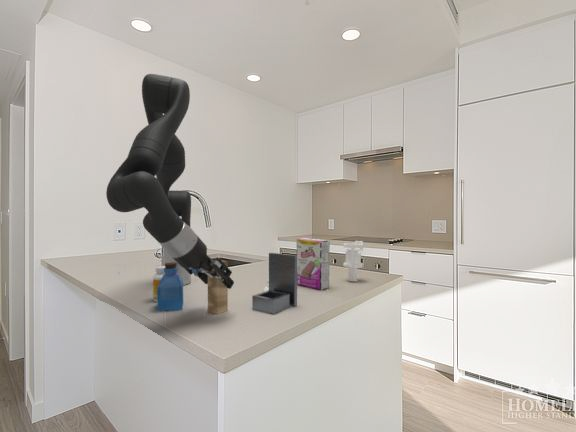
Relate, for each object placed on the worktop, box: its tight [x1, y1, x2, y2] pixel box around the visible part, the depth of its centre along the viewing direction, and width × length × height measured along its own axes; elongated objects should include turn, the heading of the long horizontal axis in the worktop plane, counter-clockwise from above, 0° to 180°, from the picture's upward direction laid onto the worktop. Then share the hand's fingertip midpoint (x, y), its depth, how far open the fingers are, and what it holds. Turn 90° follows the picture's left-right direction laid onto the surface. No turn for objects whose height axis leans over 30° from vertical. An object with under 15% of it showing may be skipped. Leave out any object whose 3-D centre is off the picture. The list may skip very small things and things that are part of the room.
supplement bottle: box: [152, 265, 165, 302], centre depth 93 cm, size 5×5×10 cm
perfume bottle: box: [156, 262, 184, 312], centre depth 86 cm, size 6×6×12 cm
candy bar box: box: [296, 237, 330, 291], centre depth 109 cm, size 11×5×16 cm, turn 47°
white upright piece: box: [342, 240, 364, 282], centre depth 118 cm, size 7×7×15 cm
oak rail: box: [207, 259, 229, 315], centre depth 83 cm, size 4×4×13 cm
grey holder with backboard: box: [251, 252, 298, 315], centre depth 86 cm, size 9×9×14 cm
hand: (219, 283), depth 84 cm, fingers open, 8 cm apart
